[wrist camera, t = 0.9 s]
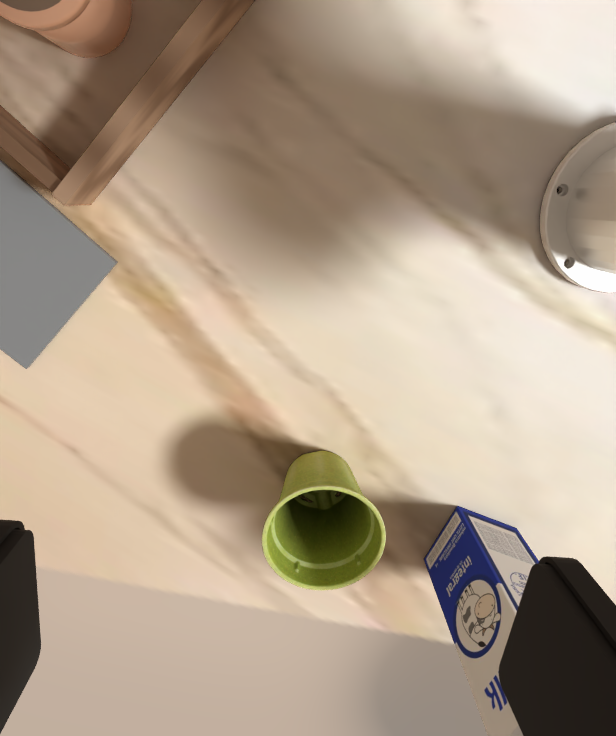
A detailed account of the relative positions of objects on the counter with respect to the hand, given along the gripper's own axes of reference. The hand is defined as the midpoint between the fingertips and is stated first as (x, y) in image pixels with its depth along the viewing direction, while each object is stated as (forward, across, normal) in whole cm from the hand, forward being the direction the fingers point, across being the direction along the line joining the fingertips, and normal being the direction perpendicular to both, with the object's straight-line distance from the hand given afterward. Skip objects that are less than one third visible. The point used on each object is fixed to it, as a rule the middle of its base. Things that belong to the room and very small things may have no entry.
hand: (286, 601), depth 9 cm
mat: (+32, +21, 0) cm, 39 cm away
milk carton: (+32, -21, +22) cm, 44 cm away
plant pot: (+32, -5, +17) cm, 36 cm away
